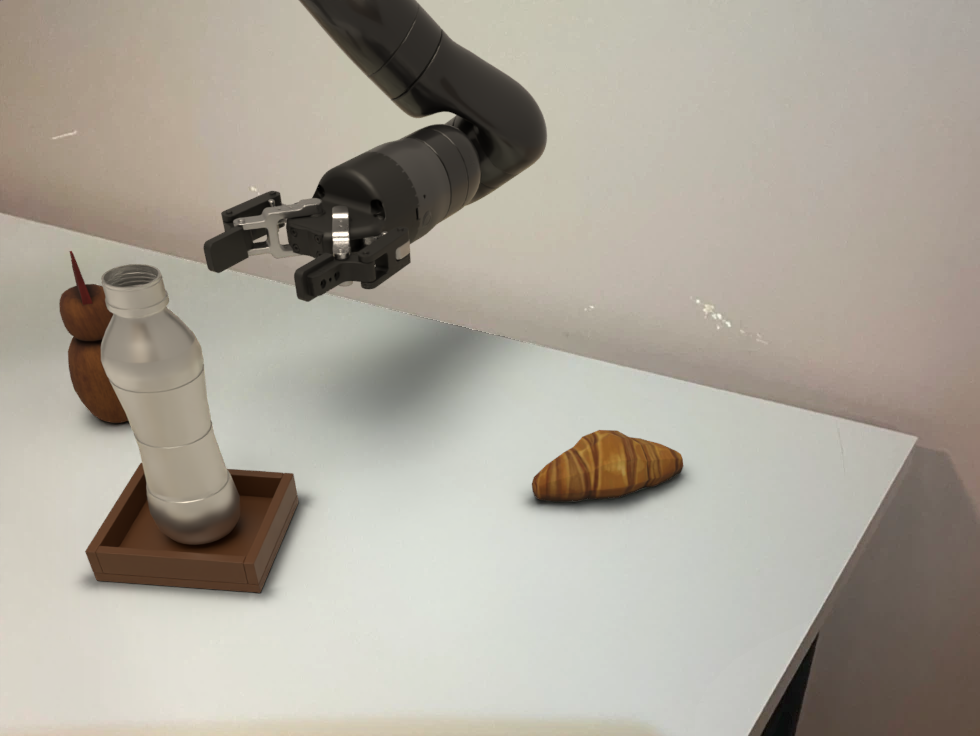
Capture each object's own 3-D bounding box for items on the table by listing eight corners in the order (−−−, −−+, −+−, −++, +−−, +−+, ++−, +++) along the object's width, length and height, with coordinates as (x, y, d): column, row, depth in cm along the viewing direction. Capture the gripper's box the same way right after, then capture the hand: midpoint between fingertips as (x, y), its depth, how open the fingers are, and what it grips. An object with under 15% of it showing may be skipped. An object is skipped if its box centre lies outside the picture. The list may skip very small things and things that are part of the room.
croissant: (663, 451, 90) (670, 400, 86) (696, 494, 86) (704, 442, 82) (518, 478, 87) (519, 426, 83) (545, 524, 82) (547, 471, 79)
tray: (96, 581, 77) (84, 551, 74) (149, 491, 84) (140, 462, 82) (260, 593, 76) (253, 563, 74) (299, 501, 84) (293, 472, 82)
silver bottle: (242, 553, 78) (179, 297, 63) (151, 558, 77) (66, 300, 62) (249, 503, 82) (191, 252, 67) (163, 507, 82) (86, 255, 67)
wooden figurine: (146, 431, 90) (95, 261, 79) (80, 432, 90) (19, 262, 79) (160, 392, 95) (114, 226, 84) (97, 393, 95) (42, 226, 83)
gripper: (310, 133, 83) (167, 197, 74) (455, 170, 79) (324, 243, 69) (322, 228, 89) (191, 299, 79) (459, 267, 84) (337, 348, 74)
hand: (253, 273), depth 74 cm, fingers open, 8 cm apart
